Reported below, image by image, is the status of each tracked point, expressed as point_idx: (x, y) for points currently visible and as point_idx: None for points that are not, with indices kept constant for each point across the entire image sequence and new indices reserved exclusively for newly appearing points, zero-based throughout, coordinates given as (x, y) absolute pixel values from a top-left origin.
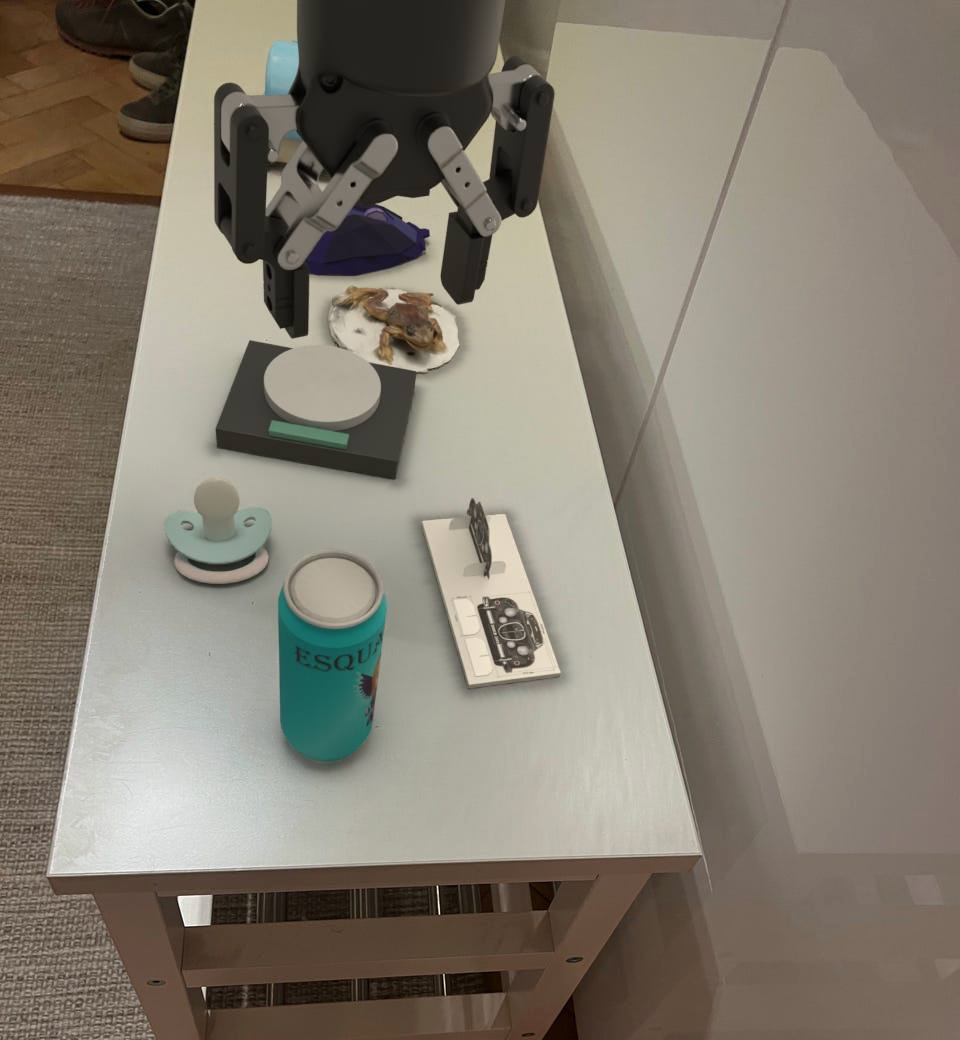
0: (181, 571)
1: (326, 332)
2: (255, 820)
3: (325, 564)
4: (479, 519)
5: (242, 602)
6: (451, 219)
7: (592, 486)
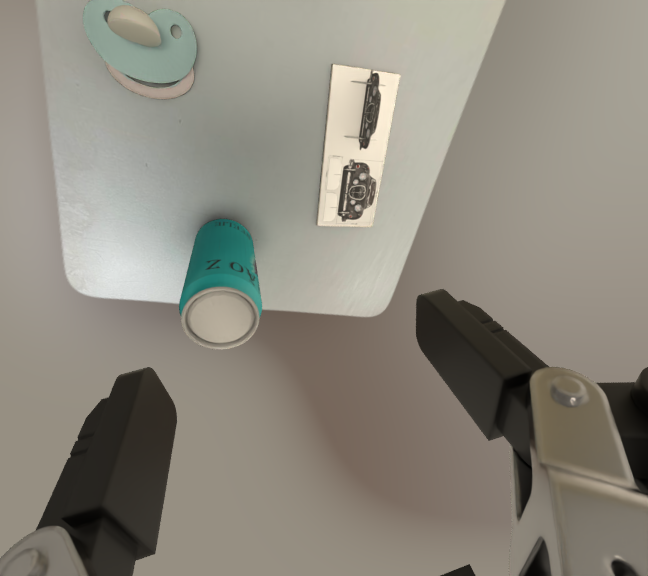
0: (113, 75)
1: None
2: (179, 283)
3: (217, 301)
4: (374, 105)
5: (171, 118)
6: (496, 382)
7: (480, 55)
